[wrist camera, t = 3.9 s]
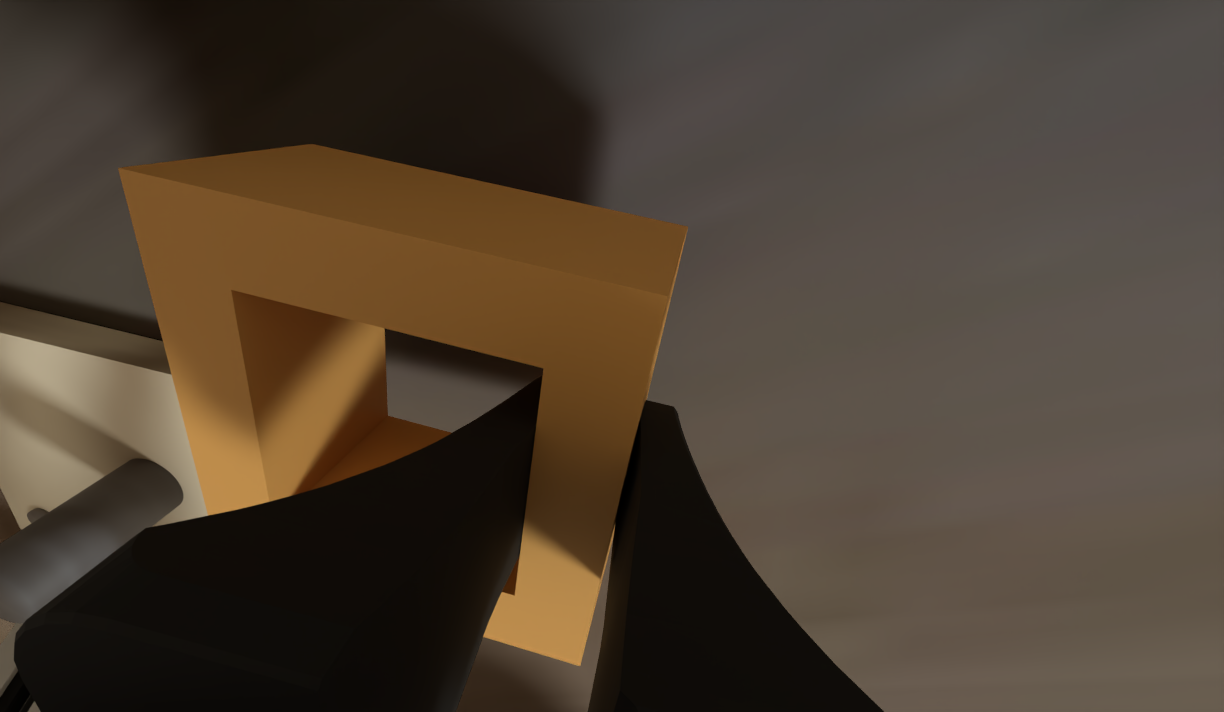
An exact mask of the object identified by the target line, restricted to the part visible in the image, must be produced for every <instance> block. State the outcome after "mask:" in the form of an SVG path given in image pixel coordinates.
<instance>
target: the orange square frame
mask: <svg viewBox="0 0 1224 712" xmlns="http://www.w3.org/2000/svg"><path fill="white" fill-rule="evenodd" d="M118 169H119V173H120V177H121V181H122V185H123V189H124V192H125V196H126V200H127V204H128V208H129V212H130V216H131V220H132V223H133V227H134V231H135V235H136V239H137V243H138V247H139V251H140V254H141V258H142V262H143V266H144V270H145V274H146V278H147V281H148V285H149V289H150V293H151V297H152V301H153V305H154V309H155V312H156V316H157V320H158V324H159V328H160V332H161V336H162V340H163V343H164V347H165V351H166V355H167V359H168V363H169V367H170V371H171V374H172V378H173V382H174V386H175V390H176V394H177V398H178V401H179V405H180V409H181V413H182V417H183V421H184V425H185V429H186V432H187V436H188V440H189V444H190V448H191V452H192V456H193V460H194V463H195V467H196V471H197V475H198V479H199V483H200V487H201V491H202V494H203V498H204V502H205V506H206V510H207V514H208V516H209V515H213V514H218V513H223V512H228V511H233V510H238V509H242V508H246V507H250V506H254V505H258V504H262V503H266V502H270V501H274V500H277V499H281V498H285V497H289V496H293V495H296V494H299V493H303V492H306V491H310V490H313V489H316V488H320V487H323V486H326V485H329V484H332V483H335V482H338V481H341V480H344V479H346V478H349V477H352V476H355V475H358V474H360V473H363V472H366V471H369V470H372V469H374V468H377V467H380V466H383V465H385V464H388V463H390V462H393V461H395V460H397V459H400V458H402V457H404V456H406V455H409V454H411V453H413V452H416V451H418V450H420V449H422V448H424V447H426V446H428V445H431V444H433V443H435V442H437V441H438V440H440V439H442V438H444V437H446V436H447V435H449V434H451V433H450V432H447V431H443V430H439V429H435V428H432V427H428V426H424V425H421V424H417V423H413V422H409V421H406V420H402V419H398V418H394V417H391V416H388V410H387V382H386V353H385V329H389V330H393V331H397V332H401V333H405V334H409V335H413V336H417V337H421V338H425V339H429V340H433V341H437V342H441V343H445V344H449V345H453V346H457V347H461V348H465V349H469V350H473V351H477V352H481V353H485V354H489V355H493V356H497V357H501V358H505V359H509V360H512V361H516V362H520V363H524V364H528V365H532V366H536V367H540V368H544V369H543V377H542V385H541V393H540V400H539V408H538V416H537V424H536V432H535V440H534V448H533V455H532V463H531V471H530V479H529V487H528V495H527V503H526V510H525V518H524V526H523V534H522V542H521V550H520V555H519V558H518V560H517V562H516V564H515V566H514V568H513V570H512V572H511V574H510V576H509V578H508V580H507V582H506V584H505V586H504V588H503V591H502V593H501V595H500V597H499V599H498V601H497V604H496V606H495V608H494V610H493V613H492V615H491V617H490V620H489V622H488V625H487V627H486V630H485V633H484V636H483V637H486V638H489V639H492V640H496V641H499V642H502V643H505V644H509V645H512V646H515V647H519V648H522V649H525V650H528V651H532V652H535V653H538V654H542V655H545V656H548V657H552V658H555V659H558V660H561V661H565V662H568V663H571V664H575V665H578V666H580V664H581V660H582V656H583V652H584V649H585V645H586V641H587V637H588V633H589V629H590V625H591V621H592V617H593V613H594V610H595V606H596V602H597V598H598V594H599V590H600V586H601V582H602V578H603V574H604V571H605V567H606V563H607V559H608V555H609V551H610V547H611V543H612V539H613V535H614V529H615V522H616V518H617V513H618V509H619V505H620V501H621V497H622V492H623V488H624V484H625V480H626V476H627V472H628V467H629V463H630V459H631V455H632V451H633V447H634V442H635V438H636V434H637V430H638V426H639V421H640V417H641V414H642V410H643V407H644V403H645V400H646V399H647V395H648V391H649V387H650V383H651V379H652V375H653V370H654V366H655V362H656V358H657V354H658V350H659V345H660V341H661V337H662V333H663V329H664V325H665V321H666V316H667V312H668V308H669V304H670V300H671V296H672V292H673V287H674V283H675V279H676V275H677V271H678V267H679V263H680V258H681V254H682V250H683V246H684V242H685V238H686V234H687V229H688V227H687V226H683V225H678V224H673V223H669V222H664V221H660V220H655V219H651V218H646V217H642V216H637V215H633V214H628V213H624V212H619V211H614V210H610V209H605V208H601V207H596V206H592V205H587V204H583V203H578V202H574V201H569V200H565V199H560V198H555V197H551V196H546V195H542V194H537V193H533V192H528V191H524V190H519V189H515V188H510V187H506V186H501V185H496V184H492V183H487V182H483V181H478V180H474V179H469V178H465V177H460V176H456V175H451V174H447V173H442V172H438V171H433V170H428V169H424V168H419V167H415V166H410V165H406V164H401V163H397V162H392V161H388V160H383V159H379V158H374V157H369V156H365V155H360V154H356V153H351V152H347V151H342V150H338V149H333V148H329V147H324V146H320V145H315V144H306V145H298V146H290V147H282V148H274V149H266V150H258V151H250V152H242V153H234V154H226V155H218V156H210V157H202V158H194V159H186V160H178V161H170V162H162V163H154V164H146V165H138V166H130V167H122V168H118Z"/></svg>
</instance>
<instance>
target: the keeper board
mask: <svg viewBox="0 0 1224 712" xmlns="http://www.w3.org/2000/svg"><path fill="white" fill-rule="evenodd" d="M0 488H1V490H2V492H3V494H4V496H5V498H6V500H7V502H8V504H9V507H10V509H11V511H12V513H13V515H14V517H15V519H16V521H17V523H18V525H19V527H20V529H21V530H20V531H19V532H17V533H16V534H14V535H13V536H11V537H9V538H8V539H6V540H5V541H3V542H2V543H0V618H1V619H4V620H6V621H9V622H13V623H19V624H23V623H24V622H25V621H26V620H27V619H28V618H29V617H31V616H32V615H33V614H34V613H36V612H37V611H38V610H40V609H41V608H42V607H43V606H45V605H46V604H47V603H49V602H50V601H51V600H53V599H54V598H55V597H56V596H58V595H59V594H60V593H62V592H63V591H64V590H65V589H67V588H68V587H69V586H71V585H72V584H73V583H75V582H76V581H77V580H78V579H80V578H81V577H82V576H84V575H85V574H86V573H87V572H89V571H90V570H91V569H93V568H94V567H95V566H96V565H98V564H99V563H100V562H102V561H103V560H104V559H106V558H107V557H108V556H109V555H111V554H112V553H113V552H115V551H116V550H117V549H118V548H120V547H121V546H122V545H124V544H125V543H126V542H127V541H129V540H130V539H131V538H133V537H134V536H135V535H137V534H138V533H140V532H141V531H142V530H144V529H145V528H148V527H153V526H159V525H165V524H170V523H175V522H179V521H184V520H189V519H194V518H199V517H204V516H208V514H207V510H206V506H205V502H204V498H203V494H202V491H201V487H200V483H199V479H198V475H197V471H196V467H195V463H194V460H193V456H192V452H191V448H190V444H189V440H188V436H187V432H186V429H185V425H184V421H183V417H182V413H181V409H180V405H179V401H178V398H177V394H176V390H175V386H174V382H173V378H172V374H171V371H170V367H169V363H168V359H167V355H166V351H165V347H164V343H163V341H159V340H155V339H151V338H147V337H143V336H139V335H135V334H131V333H126V332H122V331H118V330H114V329H110V328H106V327H102V326H98V325H93V324H89V323H85V322H81V321H77V320H73V319H69V318H64V317H60V316H56V315H52V314H48V313H44V312H40V311H36V310H31V309H27V308H23V307H19V306H15V305H11V304H7V303H3V302H0Z"/></svg>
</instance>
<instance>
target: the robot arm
mask: <svg viewBox="0 0 1224 712" xmlns="http://www.w3.org/2000/svg"><path fill="white" fill-rule="evenodd" d="M542 377H543V376H541V377H539V378H537V379H536V380H534V381H533V382H531V383H530V384H528V385H527V386H526V387H524V388H523V389H521V390H520V391H518V392H517V393H515V394H514V395H513V396H511V397H510V398H508V399H507V400H505V401H504V402H502V403H501V404H499V405H498V406H496V407H494V408H493V409H491V410H490V411H488V412H487V413H485V414H483V415H482V416H480V417H479V418H477V419H476V420H474V421H472V422H471V423H469V424H467V425H465V426H464V427H462V428H460V429H458V430H456V431H455V432H453V433H451V434H449V435H447V436H446V437H444V438H442V439H440V440H438V441H437V442H435V443H433V444H431V445H428V446H426V447H424V448H422V449H420V450H418V451H416V452H413V453H411V454H409V455H406V456H404V457H402V458H400V459H397V460H395V461H393V462H390V463H388V464H385V465H383V466H380V467H377V468H374V469H372V470H369V471H366V472H363V473H360V474H358V475H355V476H352V477H349V478H346V479H344V480H341V481H338V482H335V483H332V484H329V485H326V486H323V487H320V488H316V489H313V490H310V491H306V492H303V493H299V494H296V495H293V496H289V497H285V498H281V499H277V500H274V501H270V502H266V503H262V504H258V505H254V506H250V507H246V508H242V509H238V510H233V511H228V512H223V513H218V514H213V515H209V516H204V517H199V518H194V519H189V520H184V521H179V522H175V523H170V524H165V525H159V526H153V527H148V528H145V529H144V530H142V531H141V532H140V533H138V534H137V535H135V536H134V537H133V538H131V539H130V540H129V541H127V542H126V543H125V544H124V545H122V546H121V547H120V548H118V549H117V550H116V551H115V552H113V553H112V554H111V555H109V556H108V557H107V558H106V559H104V560H103V561H102V562H100V563H99V564H98V565H96V566H95V567H94V568H93V569H91V570H90V571H89V572H87V573H86V574H85V575H84V576H82V577H81V578H80V579H78V580H77V581H76V582H75V583H73V584H72V585H71V586H69V587H68V588H67V589H65V590H64V591H63V592H62V593H60V594H59V595H58V596H56V597H55V598H54V599H53V600H51V601H50V602H49V603H47V604H46V605H45V606H43V607H42V608H41V609H40V610H38V611H37V612H36V613H34V614H33V615H32V616H31V617H29V618H28V619H27V620H26V621H25V622H24V623H23V625H22V626H21V627H20V628H19V630H18V631H17V632H16V635H15V642H14V662H15V664H16V667H17V669H18V672H19V674H20V677H21V679H22V681H23V683H24V684H25V686H26V688H27V689H28V691H29V693H30V694H31V696H32V698H33V699H34V701H35V703H36V705H37V706H38V708H39V710H40V711H41V712H456V709H457V707H458V704H459V701H460V698H461V695H462V693H463V690H464V687H465V684H466V682H467V679H468V676H469V673H470V671H471V668H472V665H473V662H474V660H475V657H476V654H477V652H478V649H479V646H480V644H481V641H482V638H483V636H484V633H485V630H486V627H487V625H488V622H489V620H490V617H491V615H492V613H493V610H494V608H495V606H496V604H497V601H498V599H499V597H500V595H501V593H502V591H503V588H504V586H505V584H506V582H507V580H508V578H509V576H510V574H511V572H512V570H513V568H514V566H515V564H516V562H517V560H518V558H519V555H520V550H521V542H522V534H523V526H524V518H525V510H526V503H527V495H528V487H529V479H530V471H531V463H532V455H533V448H534V440H535V432H536V424H537V416H538V408H539V400H540V393H541V385H542ZM588 712H884V711H883V710H882V709H881V708H880V707H879V706H878V705H877V704H876V703H874V702H873V701H872V700H871V699H870V698H869V697H868V696H867V695H866V694H865V693H864V692H863V691H862V690H861V689H860V688H859V687H858V686H857V685H856V684H855V683H854V682H853V681H852V680H851V679H850V678H849V677H848V676H847V675H846V674H845V673H844V672H842V671H841V670H840V669H839V668H838V667H837V666H836V665H835V664H834V662H833V661H832V660H831V659H830V658H829V657H828V656H827V655H826V654H825V653H824V652H823V651H822V650H821V648H820V647H819V646H818V645H817V644H816V643H815V642H814V641H813V640H812V639H811V638H810V636H809V635H808V634H807V633H806V632H805V631H804V630H803V629H802V628H801V627H800V626H799V624H798V623H797V622H796V621H795V620H794V618H793V617H792V616H791V615H790V614H789V613H788V611H787V610H786V609H785V608H784V607H783V605H782V604H781V603H780V602H779V600H778V599H777V598H776V596H775V595H774V594H773V593H772V591H771V590H770V589H769V588H768V586H767V585H766V584H765V583H764V581H763V580H762V579H761V577H760V576H759V575H758V574H757V572H756V571H755V570H754V568H753V567H752V565H751V564H750V562H749V561H748V560H747V558H746V557H745V555H744V554H743V552H742V551H741V549H740V548H739V546H738V544H737V543H736V541H735V540H734V538H733V537H732V535H731V533H730V532H729V530H728V528H727V527H726V525H725V523H724V522H723V520H722V518H721V516H720V515H719V513H718V511H717V509H716V507H715V505H714V503H713V501H712V499H711V498H710V496H709V494H708V492H707V490H706V488H705V485H704V483H703V481H702V479H701V477H700V474H699V472H698V470H697V468H696V465H695V463H694V461H693V458H692V456H691V453H690V451H689V448H688V445H687V443H686V440H685V437H684V434H683V431H682V428H681V425H680V421H679V417H678V413H677V411H676V410H675V408H674V407H673V406H669V405H664V404H660V403H656V402H652V401H647V400H645V403H644V407H643V410H642V414H641V417H640V421H639V426H638V430H637V434H636V438H635V442H634V447H633V451H632V455H631V459H630V463H629V467H628V472H627V476H626V480H625V484H624V488H623V492H622V497H621V501H620V505H619V509H618V513H617V518H616V522H615V529H614V538H613V547H612V556H611V565H610V574H609V583H608V592H607V602H606V611H605V620H604V628H603V635H602V641H601V648H600V654H599V659H598V664H597V669H596V674H595V679H594V684H593V689H592V694H591V699H590V704H589V708H588Z"/></svg>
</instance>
